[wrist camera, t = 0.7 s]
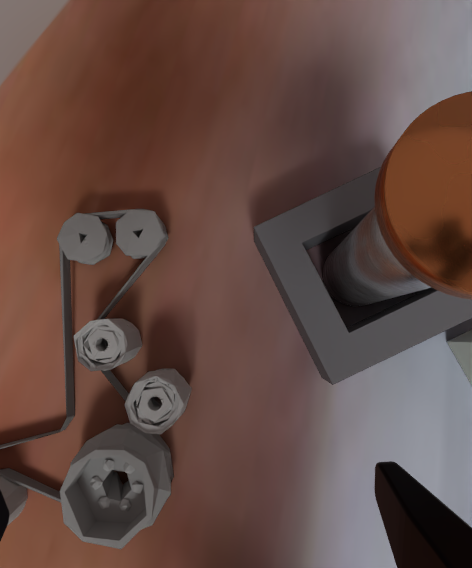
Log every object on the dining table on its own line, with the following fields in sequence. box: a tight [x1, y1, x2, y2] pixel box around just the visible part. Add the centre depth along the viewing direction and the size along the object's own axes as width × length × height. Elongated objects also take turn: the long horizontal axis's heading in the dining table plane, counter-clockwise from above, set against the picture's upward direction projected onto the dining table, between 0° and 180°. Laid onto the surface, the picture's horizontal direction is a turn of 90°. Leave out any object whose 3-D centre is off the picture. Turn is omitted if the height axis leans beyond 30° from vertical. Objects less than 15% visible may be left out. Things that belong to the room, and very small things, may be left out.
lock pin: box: [323, 92, 472, 306], centre depth 15 cm, size 6×6×13 cm
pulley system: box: [0, 209, 192, 549], centre depth 20 cm, size 27×5×15 cm
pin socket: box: [254, 167, 472, 385], centre depth 20 cm, size 10×10×3 cm
